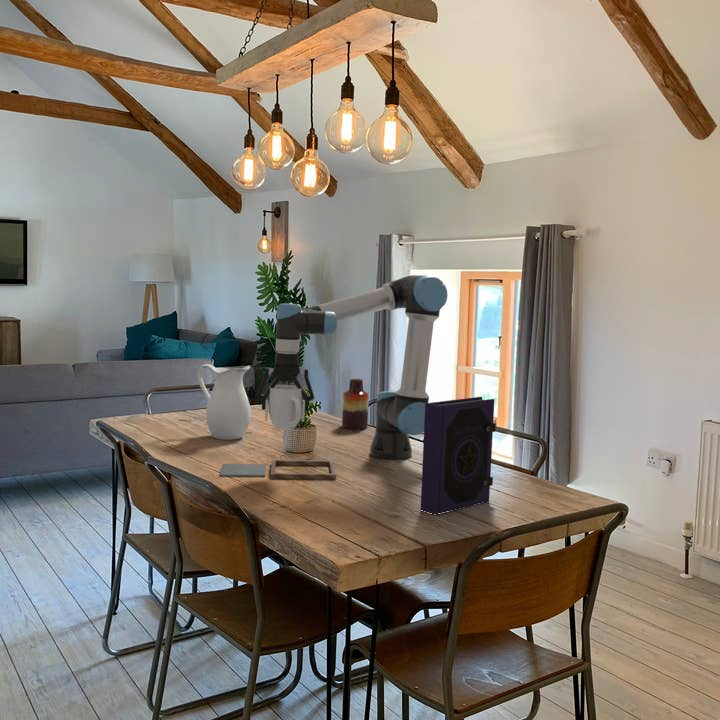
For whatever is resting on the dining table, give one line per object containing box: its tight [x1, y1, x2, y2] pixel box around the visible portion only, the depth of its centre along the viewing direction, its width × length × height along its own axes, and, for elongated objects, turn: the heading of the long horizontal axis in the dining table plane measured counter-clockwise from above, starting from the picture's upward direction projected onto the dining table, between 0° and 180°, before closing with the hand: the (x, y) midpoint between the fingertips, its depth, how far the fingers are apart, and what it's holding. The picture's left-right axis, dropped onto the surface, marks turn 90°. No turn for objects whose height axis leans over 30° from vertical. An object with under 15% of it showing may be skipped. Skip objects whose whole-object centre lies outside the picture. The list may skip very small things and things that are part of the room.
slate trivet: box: [219, 463, 267, 478], centre depth 248 cm, size 14×14×1 cm
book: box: [420, 396, 497, 514], centre depth 216 cm, size 24×6×30 cm, turn 132°
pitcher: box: [196, 363, 251, 441], centre depth 299 cm, size 24×17×28 cm
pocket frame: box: [270, 459, 337, 480], centre depth 250 cm, size 20×18×2 cm
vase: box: [341, 378, 370, 431], centre depth 326 cm, size 11×11×20 cm
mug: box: [267, 384, 304, 430], centre depth 246 cm, size 15×11×13 cm
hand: (284, 420), depth 247 cm, fingers closed on mug, 11 cm apart
